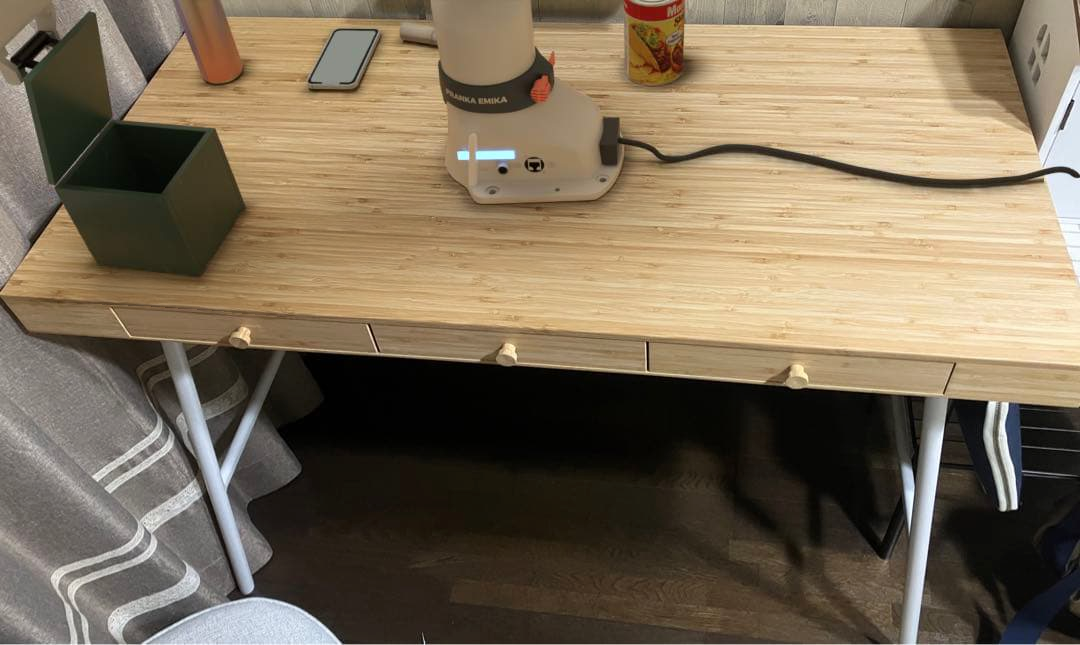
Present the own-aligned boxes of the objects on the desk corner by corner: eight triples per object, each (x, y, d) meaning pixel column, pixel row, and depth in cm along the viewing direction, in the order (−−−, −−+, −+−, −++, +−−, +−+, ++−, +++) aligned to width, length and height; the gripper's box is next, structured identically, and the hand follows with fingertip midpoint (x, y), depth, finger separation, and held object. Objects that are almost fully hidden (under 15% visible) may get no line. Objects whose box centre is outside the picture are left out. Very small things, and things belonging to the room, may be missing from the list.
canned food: (685, 83, 134) (688, 2, 126) (626, 88, 135) (625, 6, 126) (680, 51, 140) (682, -30, 131) (623, 55, 140) (621, -25, 131)
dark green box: (245, 205, 125) (215, 127, 116) (200, 277, 116) (164, 199, 108) (148, 195, 127) (111, 119, 119) (96, 264, 119) (53, 188, 111)
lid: (96, 12, 107) (53, -1, 107) (30, 81, 99) (-17, 66, 99) (113, 116, 118) (74, 104, 118) (55, 185, 110) (13, 172, 110)
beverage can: (194, 80, 144) (156, -16, 133) (220, 58, 148) (186, -38, 137) (226, 89, 142) (190, -8, 131) (252, 66, 146) (220, -30, 135)
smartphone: (381, 28, 148) (355, 85, 138) (383, 33, 149) (356, 91, 139) (333, 27, 150) (303, 84, 139) (335, 33, 150) (305, 90, 140)
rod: (400, 43, 147) (397, 26, 145) (409, 33, 148) (406, 16, 146) (473, 56, 143) (470, 39, 141) (481, 46, 145) (479, 29, 143)
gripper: (-71, -4, 89) (5, 125, 99) (54, -111, 102) (110, 13, 112) (-130, -6, 90) (-49, 121, 100) (1, -111, 103) (61, 10, 113)
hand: (36, 63), depth 106 cm, fingers closed on lid, 5 cm apart
